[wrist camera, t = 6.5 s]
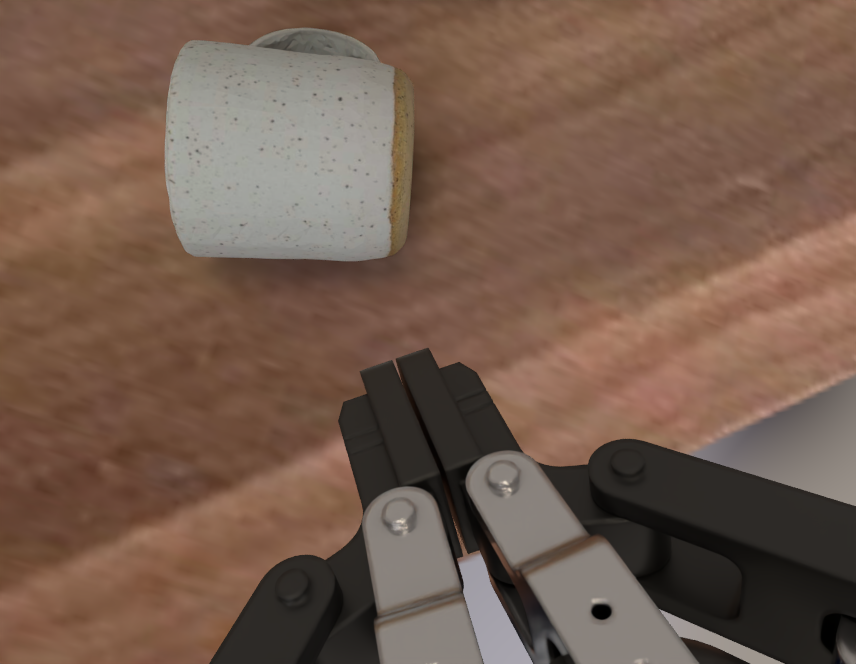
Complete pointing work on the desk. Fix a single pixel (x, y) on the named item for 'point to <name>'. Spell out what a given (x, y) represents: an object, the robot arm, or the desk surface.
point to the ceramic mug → (289, 148)
